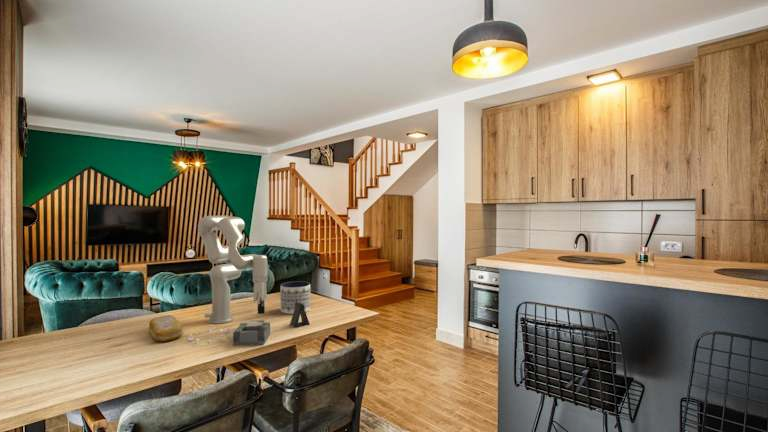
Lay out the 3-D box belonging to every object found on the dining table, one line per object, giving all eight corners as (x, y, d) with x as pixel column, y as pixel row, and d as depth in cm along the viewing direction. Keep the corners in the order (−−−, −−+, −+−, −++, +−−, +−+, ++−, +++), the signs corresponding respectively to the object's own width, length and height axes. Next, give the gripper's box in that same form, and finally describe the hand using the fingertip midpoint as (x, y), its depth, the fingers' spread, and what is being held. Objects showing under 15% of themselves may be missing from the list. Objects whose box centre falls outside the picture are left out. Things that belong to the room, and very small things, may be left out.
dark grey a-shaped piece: (294, 327, 196) (293, 305, 196) (289, 324, 201) (289, 303, 200) (309, 324, 201) (309, 302, 201) (305, 321, 206) (305, 300, 206)
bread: (173, 325, 199) (172, 311, 199) (188, 338, 180) (188, 322, 180) (144, 331, 190) (143, 316, 190) (156, 345, 171) (156, 328, 170)
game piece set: (229, 329, 195) (229, 321, 195) (231, 341, 177) (231, 333, 177) (188, 334, 186) (188, 326, 186) (186, 347, 168) (186, 339, 168)
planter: (283, 306, 237) (283, 281, 237) (311, 306, 239) (311, 281, 239) (278, 315, 219) (278, 287, 219) (309, 314, 221) (309, 287, 221)
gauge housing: (233, 345, 170) (233, 332, 170) (241, 335, 184) (241, 323, 184) (264, 344, 172) (264, 331, 172) (270, 334, 186) (270, 322, 185)
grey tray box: (238, 335, 178) (238, 325, 178) (243, 329, 187) (242, 319, 187) (267, 334, 180) (267, 324, 179) (271, 328, 188) (271, 319, 188)
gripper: (256, 276, 200) (257, 310, 201) (249, 281, 186) (250, 317, 186) (270, 276, 201) (271, 309, 201) (264, 280, 186) (265, 316, 187)
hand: (261, 313), depth 194 cm, fingers closed
